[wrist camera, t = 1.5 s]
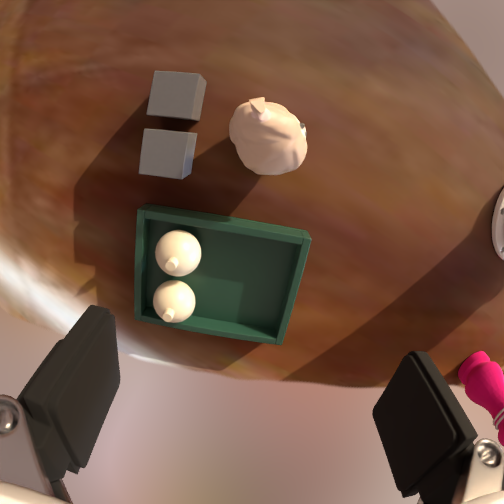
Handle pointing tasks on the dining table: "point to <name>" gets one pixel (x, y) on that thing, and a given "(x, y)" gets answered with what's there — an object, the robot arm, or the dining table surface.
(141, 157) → the grey block
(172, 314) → the white bulb
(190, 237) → the white bulb
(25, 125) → the dining table surface
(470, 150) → the dining table surface
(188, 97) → the grey block
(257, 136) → the garlic bulb
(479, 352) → the pepper mill
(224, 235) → the green tray
